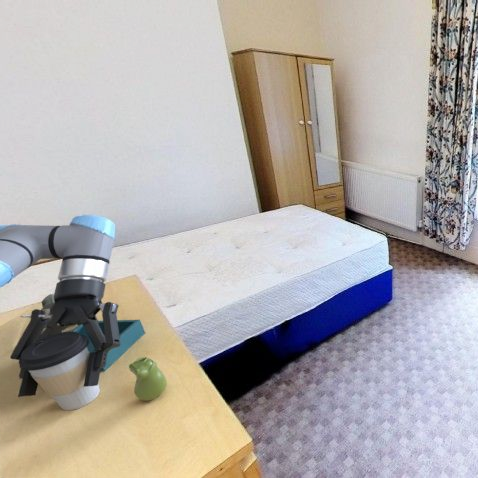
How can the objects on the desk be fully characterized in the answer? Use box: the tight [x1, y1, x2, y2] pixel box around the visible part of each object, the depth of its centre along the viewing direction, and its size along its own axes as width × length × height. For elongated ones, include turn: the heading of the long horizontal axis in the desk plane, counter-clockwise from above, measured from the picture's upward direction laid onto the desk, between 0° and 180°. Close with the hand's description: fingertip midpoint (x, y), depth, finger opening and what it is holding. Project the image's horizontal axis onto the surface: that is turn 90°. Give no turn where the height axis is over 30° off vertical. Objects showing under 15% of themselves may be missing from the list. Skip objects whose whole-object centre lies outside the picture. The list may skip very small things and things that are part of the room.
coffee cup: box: [18, 330, 101, 411], centre depth 66 cm, size 9×9×15 cm
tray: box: [71, 319, 146, 372], centre depth 80 cm, size 14×14×5 cm
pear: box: [128, 356, 168, 402], centre depth 68 cm, size 6×5×10 cm
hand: (59, 390), depth 64 cm, fingers closed on coffee cup, 9 cm apart
